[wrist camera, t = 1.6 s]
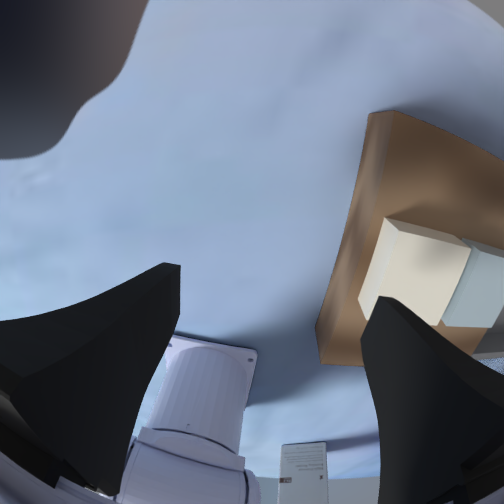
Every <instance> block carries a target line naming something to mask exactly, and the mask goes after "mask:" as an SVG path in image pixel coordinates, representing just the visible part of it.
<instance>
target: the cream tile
mask: <svg viewBox="0 0 504 504" xmlns="http://www.w3.org/2000/svg"><path fill="white" fill-rule="evenodd" d="M470 252H471V248H470V247H469V246H467V245H466V244H465V243H463V242H462V241H461V240H460V239H458V238H457V237H456V236H454V235H452V234H448V233H444V232H441V231H437V230H433V229H429V228H426V227H422V226H418V225H414V224H410V223H406V222H402V221H398V220H393V219H389V218H385V217H384V220H383V224H382V227H381V231H380V234H379V237H378V241H377V244H376V247H375V250H374V254H373V257H372V260H371V263H370V266H369V269H368V272H367V275H366V277H365V280H364V283H363V286H362V289H361V291H360V294H359V297H358V301H359V304H360V306H361V309H362V311H363V313H364V316H365V318H366V320H369V318H370V316H371V313H372V311H373V309H374V306H375V304H376V301H377V299H378V296H386V297H393V298H395V299H396V300H398V301H400V302H401V303H402V304H404V305H405V306H406V307H408V308H409V309H410V310H412V311H413V312H414V313H415V314H416V315H418V316H419V317H420V318H421V319H423V320H424V321H425V322H426V323H427V324H429V325H435V326H437V325H438V323H439V321H440V319H441V317H442V315H443V313H444V311H445V309H446V307H447V305H448V303H449V301H450V299H451V297H452V295H453V293H454V290H455V288H456V286H457V284H458V281H459V279H460V277H461V274H462V272H463V270H464V267H465V265H466V262H467V260H468V257H469V254H470Z"/></svg>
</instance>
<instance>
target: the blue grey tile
mask: <svg viewBox="0 0 504 504" xmlns="http://www.w3.org/2000/svg"><path fill="white" fill-rule="evenodd" d="M461 241H462V242H463V243H465V244H466V245H467V246H469V247H470V248H471V252H470V254H469V257H468V260H467V262H466V265H465V267H464V270H463V272H462V274H461V277H460V279H459V281H458V284H457V286H456V288H455V290H454V293H453V295H452V297H451V299H450V301H449V303H448V305H447V307H446V309H445V311H444V313H443V315H442V317H441V319H442V321H443V322H444V324H445V325H446V326H454V327H483V328H492V326H493V324H494V323H495V321H496V319H497V317H498V315H499V313H500V312H501V310H502V308H503V306H504V250H501V249H498V248H495V247H492V246H489V245H486V244H482V243H479V242H476V241H472V240H469V239H466V238H462V240H461Z"/></svg>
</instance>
